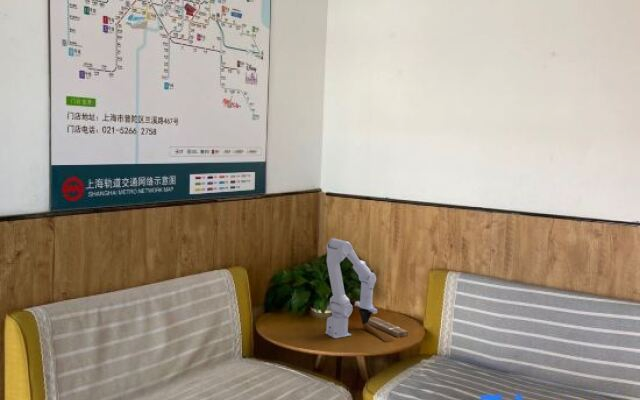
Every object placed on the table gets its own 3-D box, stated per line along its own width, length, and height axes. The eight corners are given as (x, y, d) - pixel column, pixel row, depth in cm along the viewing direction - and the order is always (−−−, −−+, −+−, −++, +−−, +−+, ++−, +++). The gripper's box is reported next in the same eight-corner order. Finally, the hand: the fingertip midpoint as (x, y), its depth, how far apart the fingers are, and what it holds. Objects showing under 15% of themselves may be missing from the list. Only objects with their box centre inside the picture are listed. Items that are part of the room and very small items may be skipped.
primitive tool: (395, 341, 259) (395, 333, 258) (386, 343, 255) (386, 335, 255) (368, 328, 274) (368, 321, 274) (358, 330, 271) (359, 323, 271)
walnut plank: (397, 337, 263) (398, 332, 263) (365, 322, 283) (365, 318, 283) (407, 335, 267) (407, 331, 266) (374, 320, 286) (375, 316, 286)
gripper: (383, 299, 268) (381, 327, 270) (363, 291, 280) (362, 318, 282) (371, 301, 264) (369, 329, 266) (352, 293, 276) (350, 320, 278)
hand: (364, 324), depth 274 cm, fingers closed
